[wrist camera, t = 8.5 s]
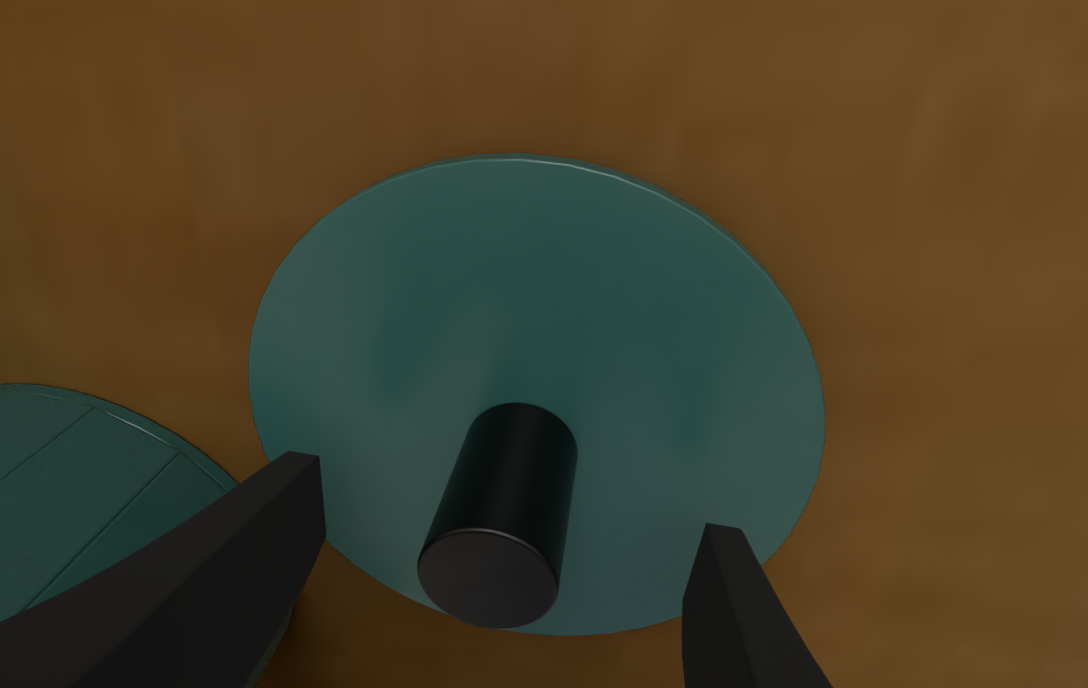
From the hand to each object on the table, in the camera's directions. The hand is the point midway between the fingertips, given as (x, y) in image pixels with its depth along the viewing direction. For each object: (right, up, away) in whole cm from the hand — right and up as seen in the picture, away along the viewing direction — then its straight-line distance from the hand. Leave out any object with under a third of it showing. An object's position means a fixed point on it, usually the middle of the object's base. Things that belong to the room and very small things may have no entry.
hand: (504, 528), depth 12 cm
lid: (0, +1, +2) cm, 3 cm away
